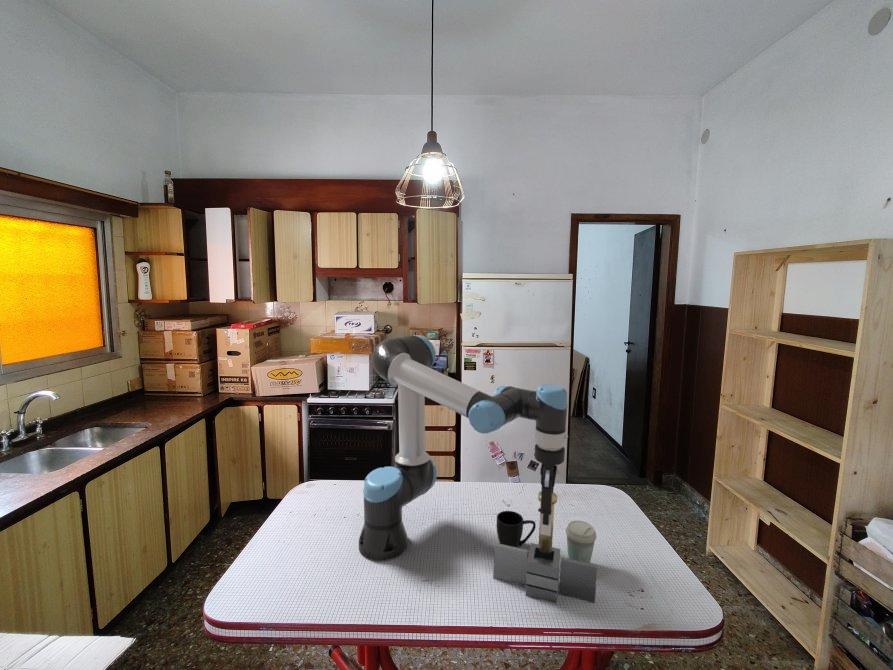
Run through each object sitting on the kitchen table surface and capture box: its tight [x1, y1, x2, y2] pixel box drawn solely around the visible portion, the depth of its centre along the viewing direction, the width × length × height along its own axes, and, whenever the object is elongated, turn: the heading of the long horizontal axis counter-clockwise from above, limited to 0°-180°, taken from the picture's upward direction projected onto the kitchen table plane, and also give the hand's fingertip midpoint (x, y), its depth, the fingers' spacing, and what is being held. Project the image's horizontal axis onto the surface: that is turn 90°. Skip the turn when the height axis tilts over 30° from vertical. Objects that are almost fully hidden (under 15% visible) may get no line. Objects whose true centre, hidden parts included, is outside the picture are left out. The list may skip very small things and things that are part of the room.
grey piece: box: [492, 542, 561, 591], centre depth 112 cm, size 17×8×10 cm, turn 72°
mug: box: [496, 510, 537, 548], centre depth 128 cm, size 8×12×10 cm
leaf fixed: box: [525, 542, 598, 604], centre depth 109 cm, size 17×8×10 cm, turn 72°
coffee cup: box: [565, 519, 597, 564], centre depth 119 cm, size 8×8×12 cm
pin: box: [537, 491, 558, 553], centre depth 108 cm, size 5×5×15 cm
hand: (545, 529), depth 108 cm, fingers closed on pin, 3 cm apart
